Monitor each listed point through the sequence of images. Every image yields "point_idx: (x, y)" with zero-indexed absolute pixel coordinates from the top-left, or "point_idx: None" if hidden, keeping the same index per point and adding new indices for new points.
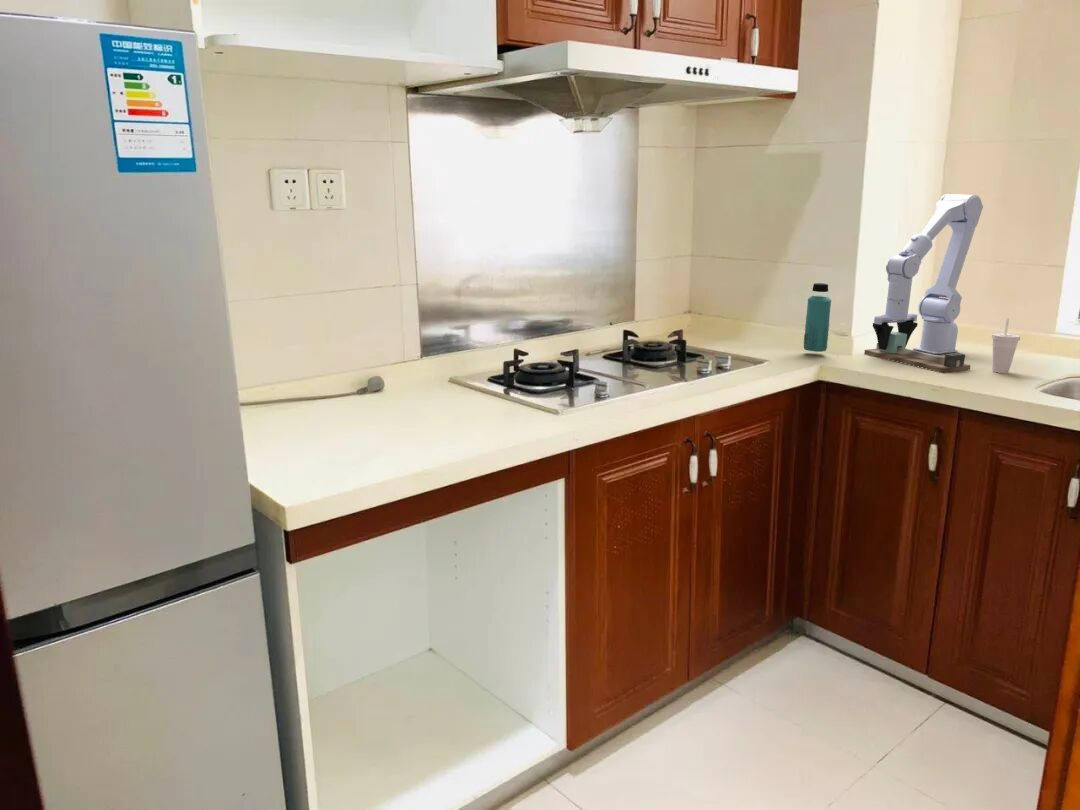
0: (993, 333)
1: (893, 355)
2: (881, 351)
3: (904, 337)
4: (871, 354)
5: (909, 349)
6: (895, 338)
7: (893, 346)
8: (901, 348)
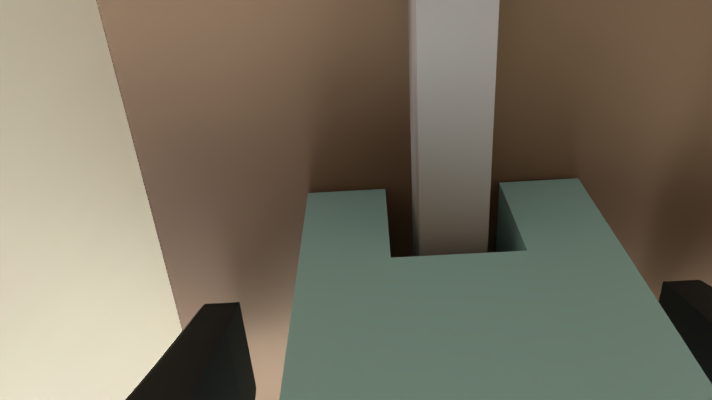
0: None
1: (686, 88)
2: None
3: (362, 380)
4: None
5: (417, 45)
6: (688, 363)
7: (616, 260)
8: (488, 174)
